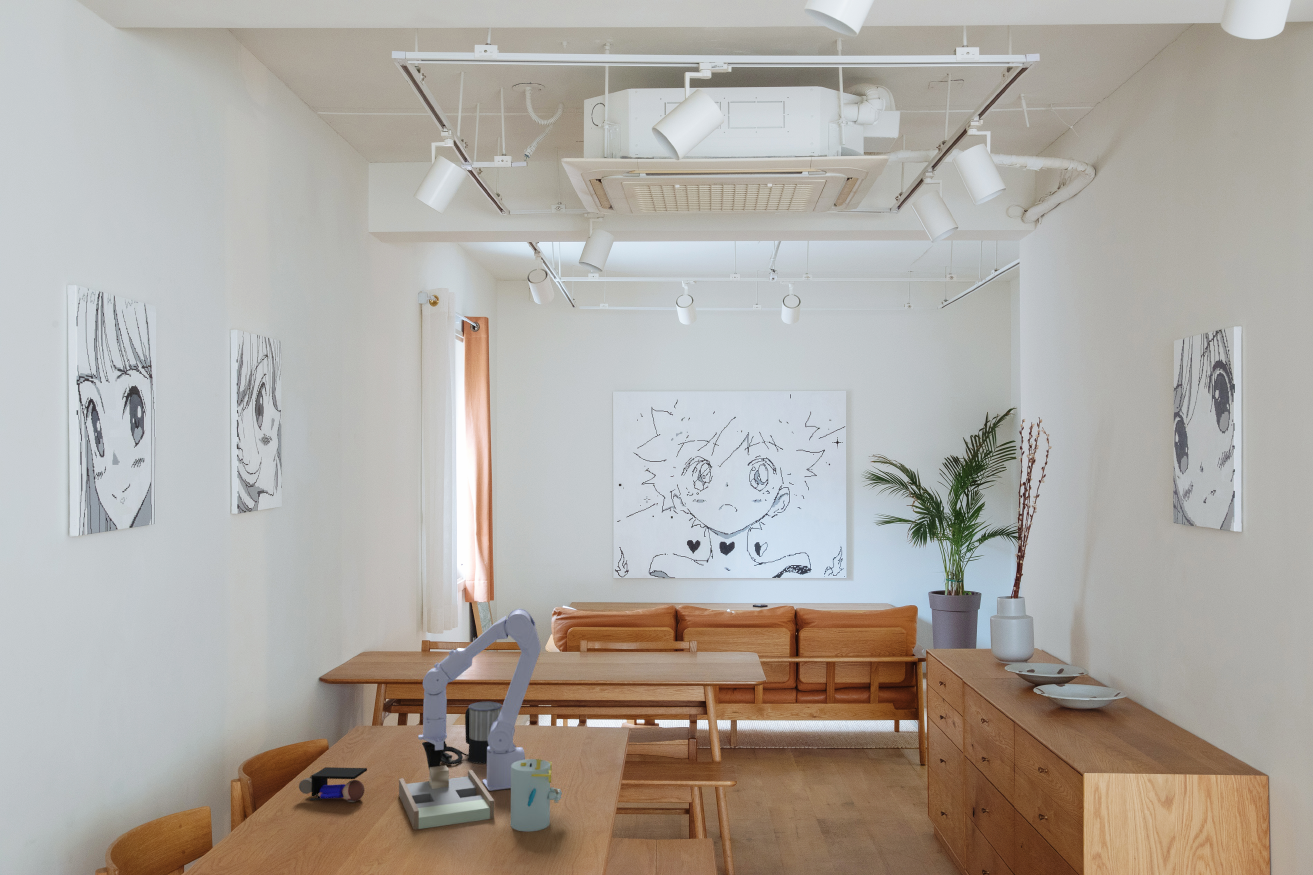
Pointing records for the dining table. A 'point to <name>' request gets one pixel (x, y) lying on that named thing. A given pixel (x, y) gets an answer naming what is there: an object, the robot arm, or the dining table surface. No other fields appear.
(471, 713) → the milk frother
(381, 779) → the dining table surface
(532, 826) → the pale blue upright cylinder
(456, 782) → the box
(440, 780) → the block
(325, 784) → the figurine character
